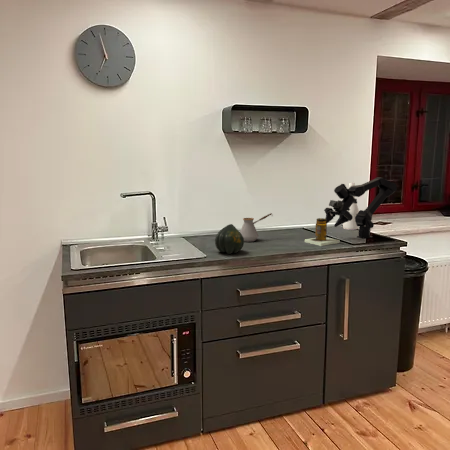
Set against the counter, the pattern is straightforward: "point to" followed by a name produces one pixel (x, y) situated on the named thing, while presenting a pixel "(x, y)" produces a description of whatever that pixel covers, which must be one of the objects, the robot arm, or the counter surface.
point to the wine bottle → (353, 211)
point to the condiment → (320, 230)
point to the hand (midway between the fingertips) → (329, 225)
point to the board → (322, 243)
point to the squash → (229, 240)
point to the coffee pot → (250, 229)
